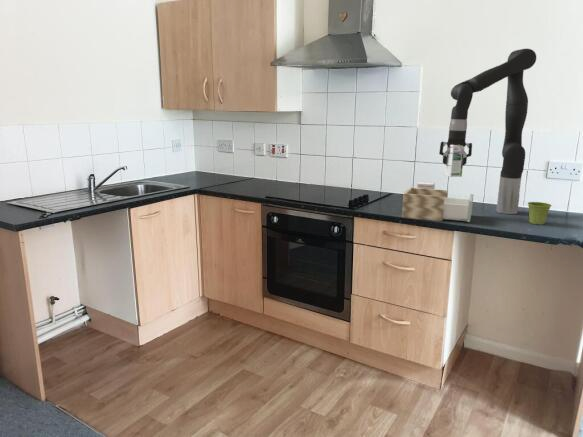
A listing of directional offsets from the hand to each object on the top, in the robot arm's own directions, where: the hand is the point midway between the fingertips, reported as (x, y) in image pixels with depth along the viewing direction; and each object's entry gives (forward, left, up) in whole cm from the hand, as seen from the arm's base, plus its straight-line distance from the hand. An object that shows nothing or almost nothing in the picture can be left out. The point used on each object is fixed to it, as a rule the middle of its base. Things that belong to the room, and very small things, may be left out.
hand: (454, 164), depth 222 cm
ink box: (+14, -15, -24) cm, 31 cm away
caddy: (+11, +8, -23) cm, 27 cm away
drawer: (-1, +8, -23) cm, 24 cm away
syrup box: (0, 0, -5) cm, 5 cm away
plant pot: (-37, +3, -24) cm, 44 cm away
